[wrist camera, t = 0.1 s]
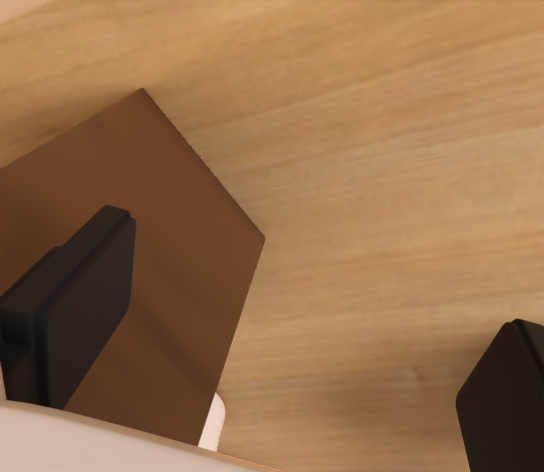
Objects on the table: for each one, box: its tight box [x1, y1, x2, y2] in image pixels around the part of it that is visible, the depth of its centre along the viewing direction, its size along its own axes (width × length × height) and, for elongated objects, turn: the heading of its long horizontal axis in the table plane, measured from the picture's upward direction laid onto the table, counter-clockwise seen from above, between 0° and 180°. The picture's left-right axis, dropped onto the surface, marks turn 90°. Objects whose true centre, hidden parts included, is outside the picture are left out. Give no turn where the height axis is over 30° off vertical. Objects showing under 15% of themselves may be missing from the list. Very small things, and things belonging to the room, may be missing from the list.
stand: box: [0, 88, 265, 447], centre depth 18 cm, size 10×10×20 cm
